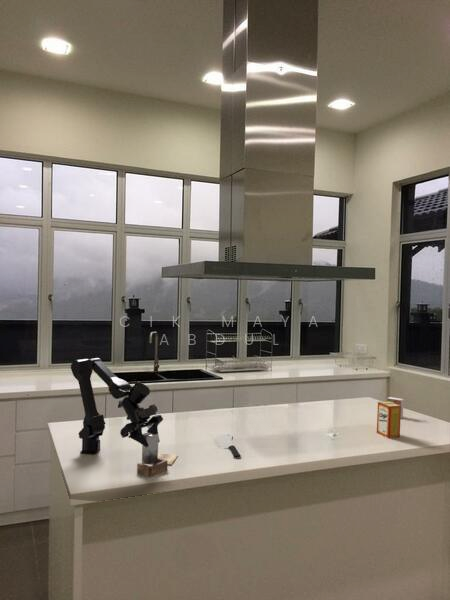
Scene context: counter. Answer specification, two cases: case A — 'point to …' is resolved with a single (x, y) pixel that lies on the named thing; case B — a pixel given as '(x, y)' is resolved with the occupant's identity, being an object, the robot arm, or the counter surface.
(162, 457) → the mat
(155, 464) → the cubby
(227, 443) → the kitchen cleaver
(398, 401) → the small box
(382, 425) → the baking soda box
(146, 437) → the canister
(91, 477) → the counter surface
